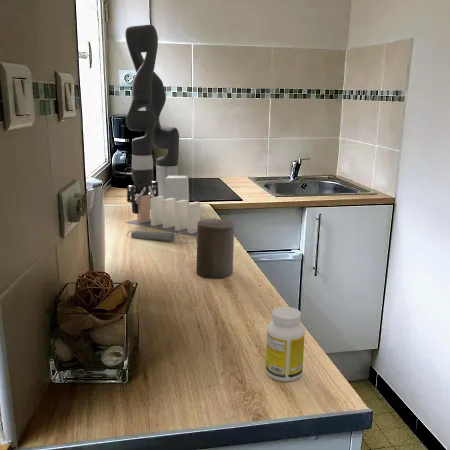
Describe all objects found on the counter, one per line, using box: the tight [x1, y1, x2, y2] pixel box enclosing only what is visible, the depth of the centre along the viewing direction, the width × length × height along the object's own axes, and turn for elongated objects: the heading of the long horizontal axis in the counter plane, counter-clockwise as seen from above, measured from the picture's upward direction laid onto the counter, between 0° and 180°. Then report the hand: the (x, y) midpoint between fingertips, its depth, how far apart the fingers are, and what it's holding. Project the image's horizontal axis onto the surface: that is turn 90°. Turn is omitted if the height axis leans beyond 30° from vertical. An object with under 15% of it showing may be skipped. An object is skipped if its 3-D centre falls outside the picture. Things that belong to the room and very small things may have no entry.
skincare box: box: [165, 175, 190, 204], centre depth 190 cm, size 8×7×16 cm
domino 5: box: [187, 201, 201, 233], centre depth 166 cm, size 5×2×10 cm, turn 147°
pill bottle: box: [265, 306, 306, 382], centre depth 80 cm, size 6×6×11 cm
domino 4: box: [175, 200, 188, 231], centre depth 169 cm, size 5×2×10 cm, turn 147°
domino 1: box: [136, 194, 151, 223], centre depth 178 cm, size 5×2×10 cm, turn 147°
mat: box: [125, 218, 197, 238], centre depth 173 cm, size 10×32×1 cm, turn 57°
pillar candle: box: [196, 217, 235, 279], centre depth 127 cm, size 10×10×15 cm
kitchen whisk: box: [126, 229, 197, 246], centre depth 154 cm, size 6×34×6 cm, turn 69°
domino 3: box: [162, 198, 175, 228], centre depth 172 cm, size 5×2×10 cm, turn 147°
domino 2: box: [150, 196, 163, 226], centre depth 175 cm, size 5×2×10 cm, turn 147°
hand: (143, 211), depth 178 cm, fingers open, 8 cm apart
